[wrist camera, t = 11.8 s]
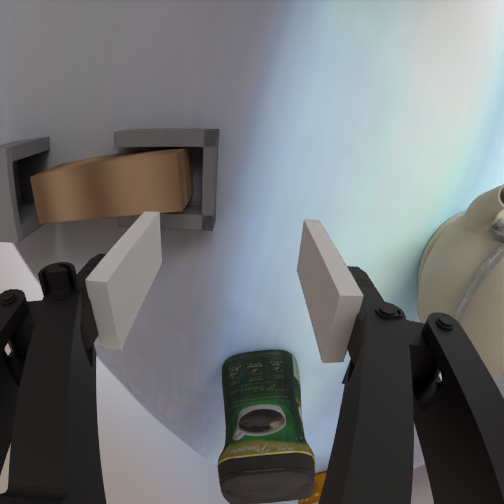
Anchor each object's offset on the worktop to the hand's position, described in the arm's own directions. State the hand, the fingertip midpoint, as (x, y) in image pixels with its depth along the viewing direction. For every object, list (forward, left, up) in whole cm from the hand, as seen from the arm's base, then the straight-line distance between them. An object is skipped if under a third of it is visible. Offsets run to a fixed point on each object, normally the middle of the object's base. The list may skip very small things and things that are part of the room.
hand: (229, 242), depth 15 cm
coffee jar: (-4, +24, -15) cm, 29 cm away
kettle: (-27, +6, -15) cm, 32 cm away
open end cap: (+7, 0, -15) cm, 16 cm away
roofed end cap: (+23, 0, -15) cm, 27 cm away
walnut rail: (+11, 0, -15) cm, 19 cm away
